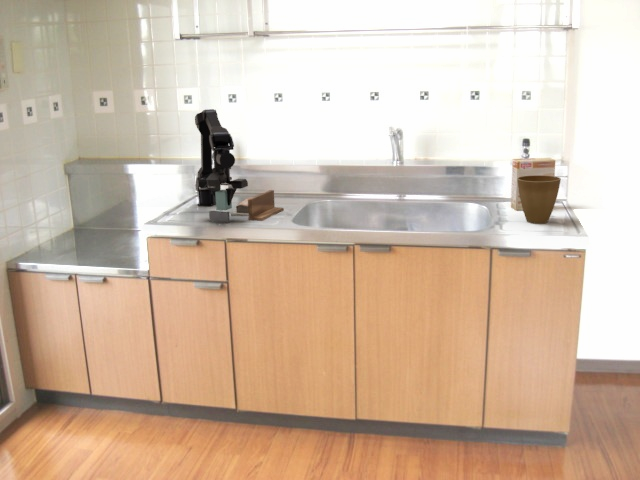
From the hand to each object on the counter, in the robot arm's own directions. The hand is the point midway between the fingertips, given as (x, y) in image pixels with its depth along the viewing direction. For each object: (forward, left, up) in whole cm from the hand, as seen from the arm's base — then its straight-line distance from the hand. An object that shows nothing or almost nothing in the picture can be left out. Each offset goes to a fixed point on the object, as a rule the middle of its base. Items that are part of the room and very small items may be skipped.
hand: (224, 205), depth 272 cm
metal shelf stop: (0, -4, -6) cm, 7 cm away
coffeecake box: (+109, +51, -6) cm, 121 cm away
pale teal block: (0, 0, -2) cm, 2 cm away
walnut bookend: (+12, +12, -6) cm, 18 cm away
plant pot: (+113, +28, -6) cm, 117 cm away
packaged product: (+2, +17, -7) cm, 18 cm away
